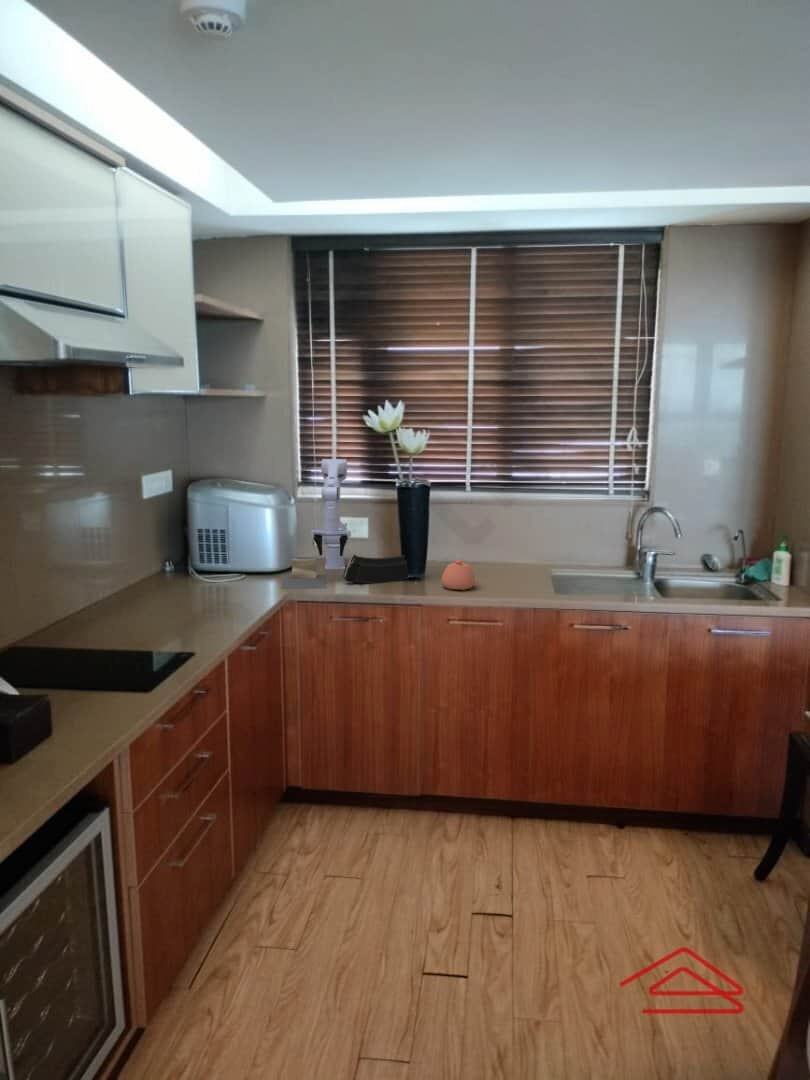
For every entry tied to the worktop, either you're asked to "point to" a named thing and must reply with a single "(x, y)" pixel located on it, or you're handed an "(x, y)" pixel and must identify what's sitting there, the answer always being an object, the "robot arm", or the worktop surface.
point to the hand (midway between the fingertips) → (331, 555)
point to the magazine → (376, 569)
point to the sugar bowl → (458, 576)
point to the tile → (303, 568)
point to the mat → (303, 582)
